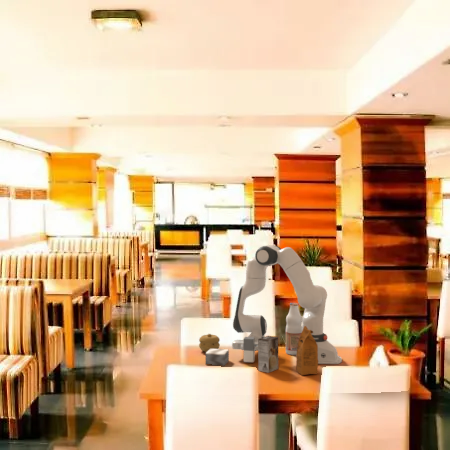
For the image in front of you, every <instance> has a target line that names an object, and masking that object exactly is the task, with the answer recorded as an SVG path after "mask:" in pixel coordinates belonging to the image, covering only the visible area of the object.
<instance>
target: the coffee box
mask: <svg viewBox="0 0 450 450" xmlns="http://www.w3.org/2000/svg"><path fill="white" fill-rule="evenodd" d="M257 352H258V356H257V357H258V371H259V372H264V373H268V374H270V373H271V372H274V371H277V370H278V369H279V337H278V336H274V335H273V336H271V335H266V336H265V337H263V338H260V339H258V351H257Z"/></svg>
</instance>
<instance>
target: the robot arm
mask: <svg viewBox="0 0 450 450" xmlns="http://www.w3.org/2000/svg"><path fill="white" fill-rule="evenodd" d="M274 265H275V266H276V265H280V267H281V268H282V269H283V271H284V273H285V274H286V276H287V277H288V279H289V281H290V282H291V284H292V285H291V286H292V287H293V289H294V292H295V295H296V297H297V303H299V306H300V307H302V309H304V311H303V315H302V331H303V328H304V326H306V327H307V328H308V330H312V331H313V333H311V334H312V336H313V338H314V340H315V341H316V343H317V345H318V365H339V364H342V362H343V359H342V357H341V356H339V354H338V350H337V348H336V346H334V345H333V343H331V342H330V341H328V335H327V333H324V315H325V310H326V302H327V298H328V293H327V289H325V287H323V286H322V285H316V284H314V282H313V280H312V278H311V273H310V270H308V268H307V266H306V265H305V263H304V262H303V260H302V259H301V257H300V256H299V255H298V253H297V252H296V251H295V250H294V249H293V248H292V247H289V246H286V247H284V248H281V247H279V246H277V245H274V244H273V245H271V244H270V245H269V244H268V245H263V246H260V247H258V249H257V250H256V251H255V256H254V257H252V258H249V260H248V261H247V265H246V272H245V282H244V284H243V285H242V286H240V289H239V292H238V297H237V301H236V306H235V307H236V308H235V313H234V317H233V319H232V327H233V329H234V331H235V332H237V333H238V334H241V333H249V335H248V336H247V337H255V347H254V351H255V352H258V339H260V338H263V337H266V336H265V335H266V333H267V328H268V324H267V320H266V319H265V317H264V316H263V315H259V314H253V315H252V314H245V313H244V309H245V303H246V300H247V299H248V298H249V297H250V296H253V295H256V294H258V293H260V292H262V291H263V290H264V289H265V287H266V282H267V279H266V278H267V273H266V272H267V268H268V267H271V266H274ZM231 347H232V349H233V350H240V351H244V339H236V340H234V341H232V343H231Z"/></svg>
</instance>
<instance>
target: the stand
mask: <svg viewBox="0 0 450 450" xmlns="http://www.w3.org/2000/svg"><path fill="white" fill-rule="evenodd" d="M229 353H230V350H229V349H227V348H226V349H225V348H224V349H223V348H218V349H211V348H210V349H209V350H208V351H207V352H205V365H206V364H212V365H211V366H219V365H222V366H221V367H225V366H226V364H228V363H229V361H230V360H229V357H230V356H229V355H230V354H229Z"/></svg>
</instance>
